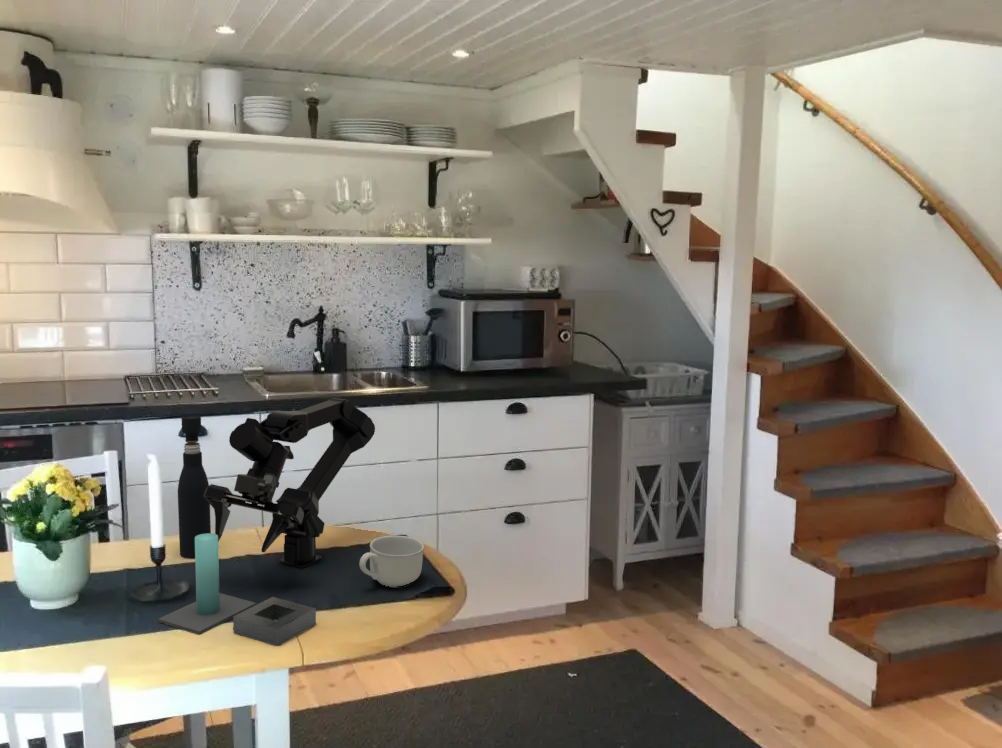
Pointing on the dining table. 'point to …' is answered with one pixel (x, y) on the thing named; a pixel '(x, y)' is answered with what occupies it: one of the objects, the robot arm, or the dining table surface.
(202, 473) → the black bottle
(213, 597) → the teal peg
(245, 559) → the dining table surface
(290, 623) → the socket block
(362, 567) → the teacup
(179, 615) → the rubber pad
